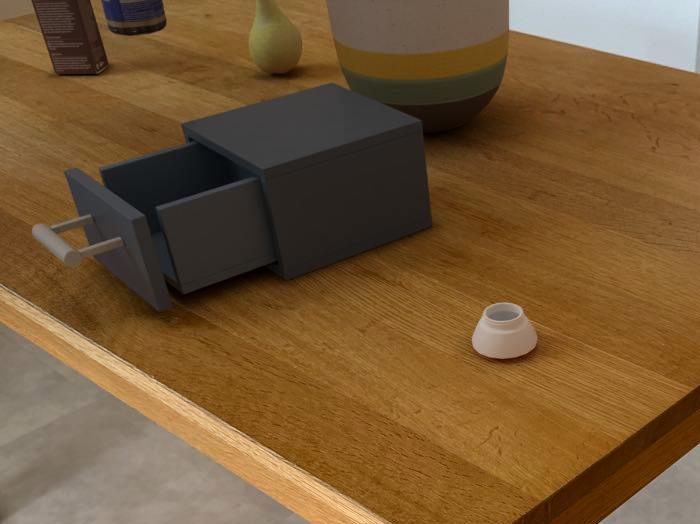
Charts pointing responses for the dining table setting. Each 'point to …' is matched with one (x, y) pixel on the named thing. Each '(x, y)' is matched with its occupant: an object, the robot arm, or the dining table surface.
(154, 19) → the pill bottle
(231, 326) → the dining table surface
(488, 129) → the dining table surface
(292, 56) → the fruit
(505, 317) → the lidless jar
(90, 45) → the box
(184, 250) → the drawer
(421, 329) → the dining table surface
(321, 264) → the cabinet
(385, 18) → the planter
